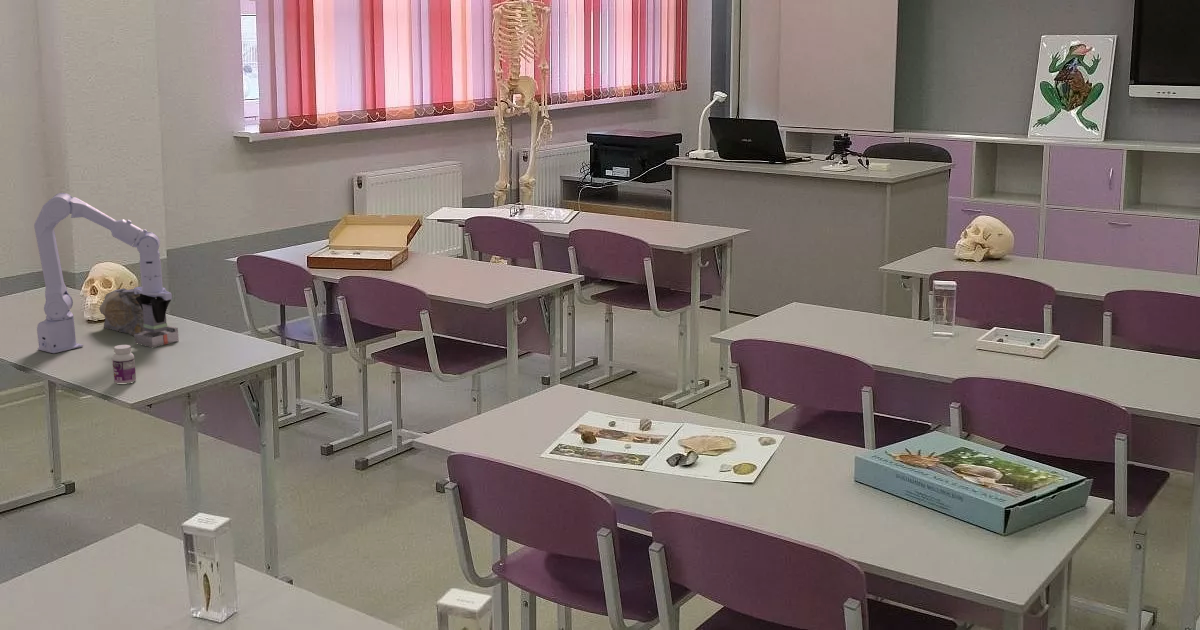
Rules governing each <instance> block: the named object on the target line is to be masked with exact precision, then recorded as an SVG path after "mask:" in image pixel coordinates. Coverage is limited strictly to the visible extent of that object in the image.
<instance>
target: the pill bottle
mask: <svg viewBox="0 0 1200 630" xmlns="http://www.w3.org/2000/svg"><path fill="white" fill-rule="evenodd" d="M131 347H132V346H131V345H130V344H119V345H115V346H114V348H113V350H114V351H113V352H114V354H113V355H112V357H111V360H112V361H111V362H112V371H113V380H114V384H116V383H131V382H134V381H135V382H136V381H137V374H136V373H137V372H136V362H135V355H134V354H133V353H132V348H131ZM135 382H134V383H135Z"/></svg>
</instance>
